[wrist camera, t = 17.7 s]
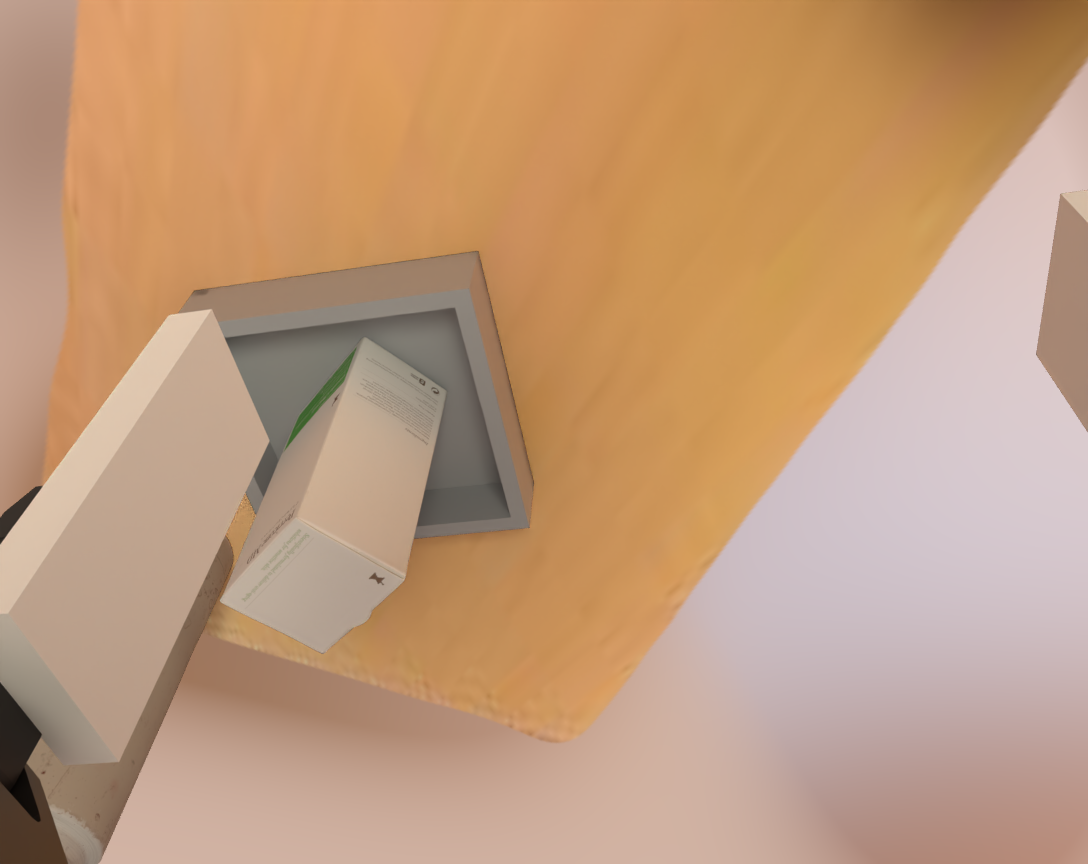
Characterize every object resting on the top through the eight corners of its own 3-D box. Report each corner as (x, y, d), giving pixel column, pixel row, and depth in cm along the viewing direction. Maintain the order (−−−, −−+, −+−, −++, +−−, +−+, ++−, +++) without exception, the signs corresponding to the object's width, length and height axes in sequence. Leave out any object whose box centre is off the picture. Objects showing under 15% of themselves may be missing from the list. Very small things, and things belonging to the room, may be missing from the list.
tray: (478, 250, 53) (469, 288, 49) (534, 483, 63) (529, 527, 59) (194, 290, 55) (166, 328, 52) (291, 507, 65) (273, 551, 62)
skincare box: (366, 331, 55) (295, 509, 43) (457, 393, 58) (415, 579, 45) (293, 417, 59) (210, 603, 47) (381, 472, 62) (323, 662, 49)
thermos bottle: (98, 523, 67) (-157, 925, 45) (187, 491, 65) (-34, 898, 43) (169, 596, 71) (-32, 996, 49) (255, 568, 69) (86, 975, 47)
